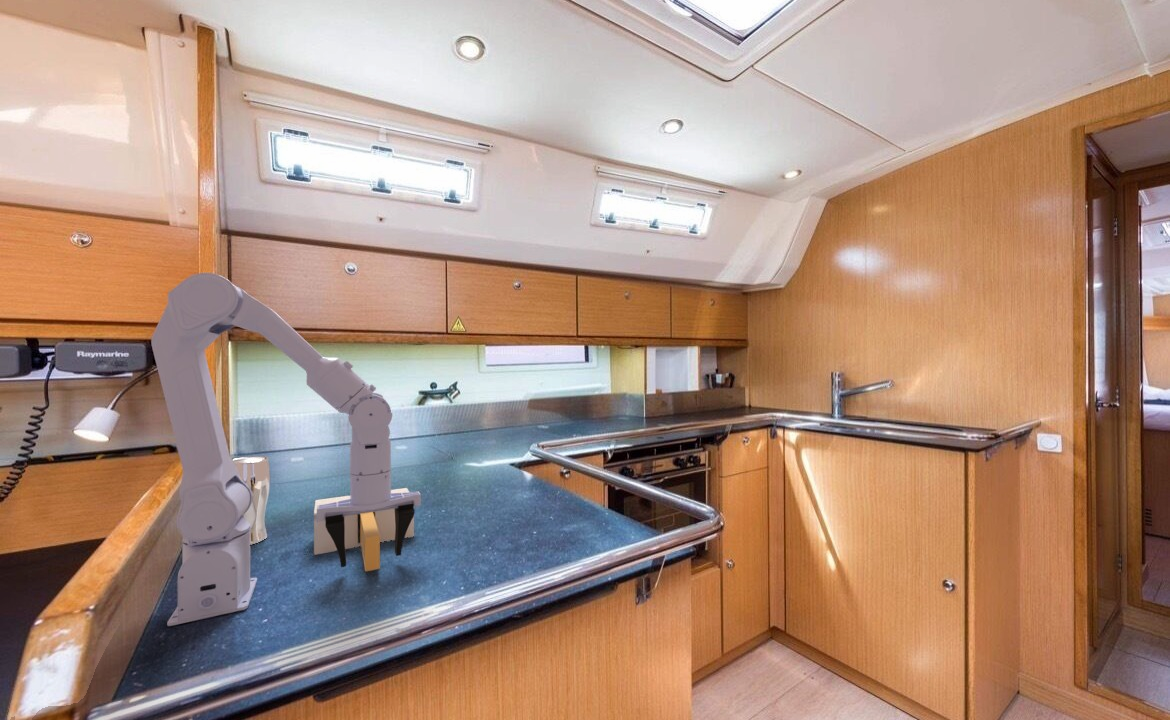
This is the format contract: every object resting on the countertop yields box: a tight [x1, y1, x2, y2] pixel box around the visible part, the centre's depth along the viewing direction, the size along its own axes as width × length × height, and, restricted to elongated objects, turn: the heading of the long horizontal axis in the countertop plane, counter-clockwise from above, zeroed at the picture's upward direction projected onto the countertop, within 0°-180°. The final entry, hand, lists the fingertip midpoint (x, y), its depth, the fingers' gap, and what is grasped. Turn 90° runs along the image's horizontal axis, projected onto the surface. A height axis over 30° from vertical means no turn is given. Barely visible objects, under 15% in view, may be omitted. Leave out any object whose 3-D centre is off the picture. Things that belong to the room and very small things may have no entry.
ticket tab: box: [360, 512, 381, 572], centre depth 74 cm, size 14×2×5 cm, turn 29°
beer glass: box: [231, 455, 271, 546], centre depth 83 cm, size 7×7×15 cm
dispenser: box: [313, 487, 415, 556], centre depth 84 cm, size 10×16×7 cm, turn 119°
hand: (371, 558), depth 70 cm, fingers open, 7 cm apart
